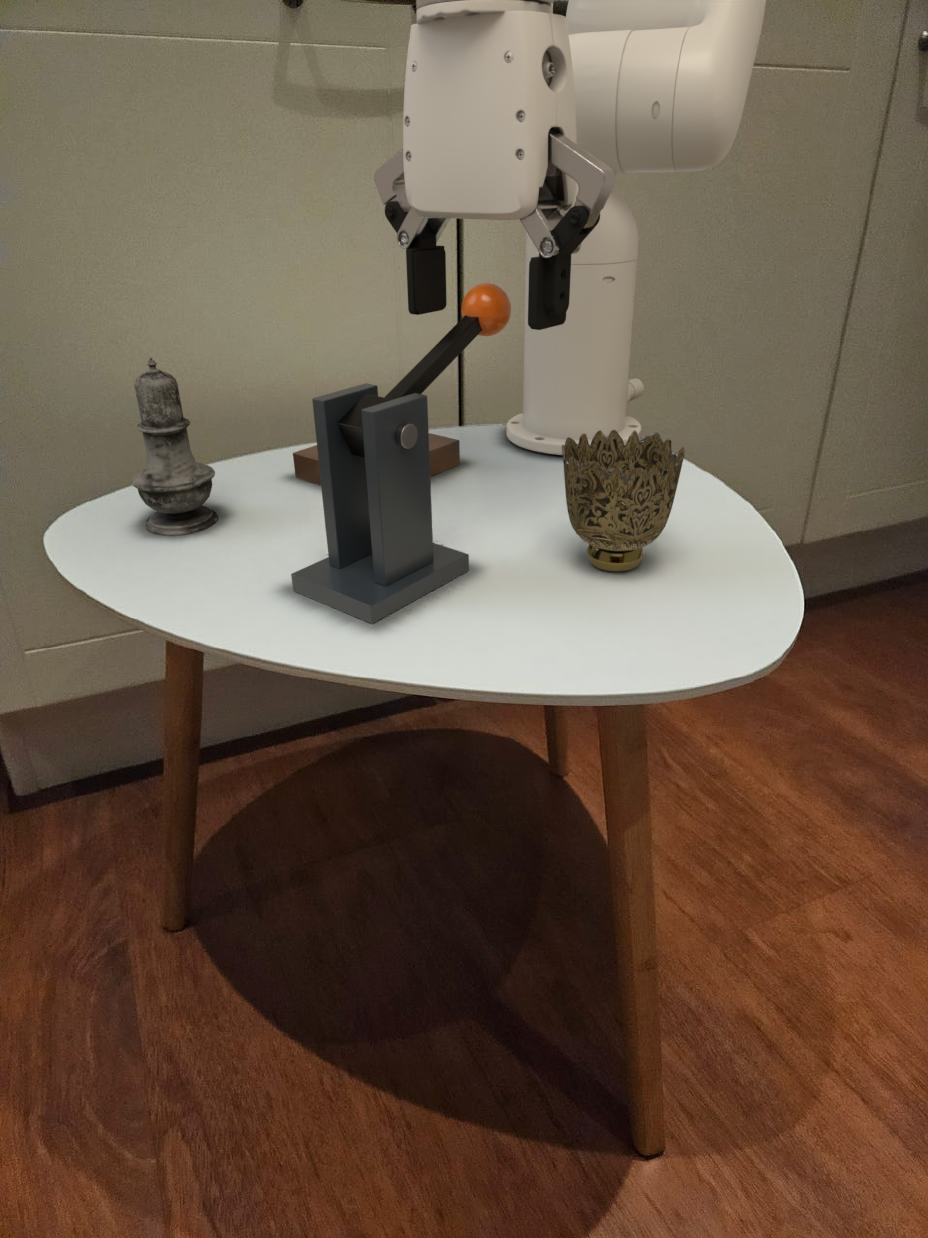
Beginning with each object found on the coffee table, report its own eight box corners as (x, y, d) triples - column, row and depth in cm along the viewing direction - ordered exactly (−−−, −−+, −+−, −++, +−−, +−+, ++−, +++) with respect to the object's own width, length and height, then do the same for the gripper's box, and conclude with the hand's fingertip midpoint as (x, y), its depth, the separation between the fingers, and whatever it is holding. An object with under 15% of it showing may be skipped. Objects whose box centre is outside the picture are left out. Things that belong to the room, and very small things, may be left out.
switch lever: (487, 315, 57) (474, 271, 55) (525, 319, 56) (513, 274, 53) (348, 458, 51) (327, 415, 49) (386, 469, 50) (366, 425, 47)
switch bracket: (391, 544, 60) (380, 373, 54) (469, 570, 56) (466, 389, 50) (292, 590, 54) (268, 403, 48) (372, 624, 50) (356, 425, 44)
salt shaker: (200, 539, 61) (168, 368, 55) (125, 534, 62) (87, 366, 56) (235, 508, 66) (210, 349, 60) (165, 504, 67) (134, 347, 61)
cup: (689, 583, 54) (704, 460, 50) (575, 593, 53) (582, 469, 49) (647, 536, 60) (658, 424, 56) (546, 545, 59) (549, 431, 55)
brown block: (385, 445, 79) (383, 402, 77) (460, 464, 74) (459, 419, 72) (295, 477, 72) (289, 431, 70) (371, 501, 67) (367, 451, 65)
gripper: (660, -22, 44) (633, 324, 52) (413, 14, 54) (423, 300, 62) (582, -44, 39) (565, 343, 47) (325, 0, 49) (348, 314, 57)
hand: (484, 318), depth 55 cm, fingers open, 9 cm apart
